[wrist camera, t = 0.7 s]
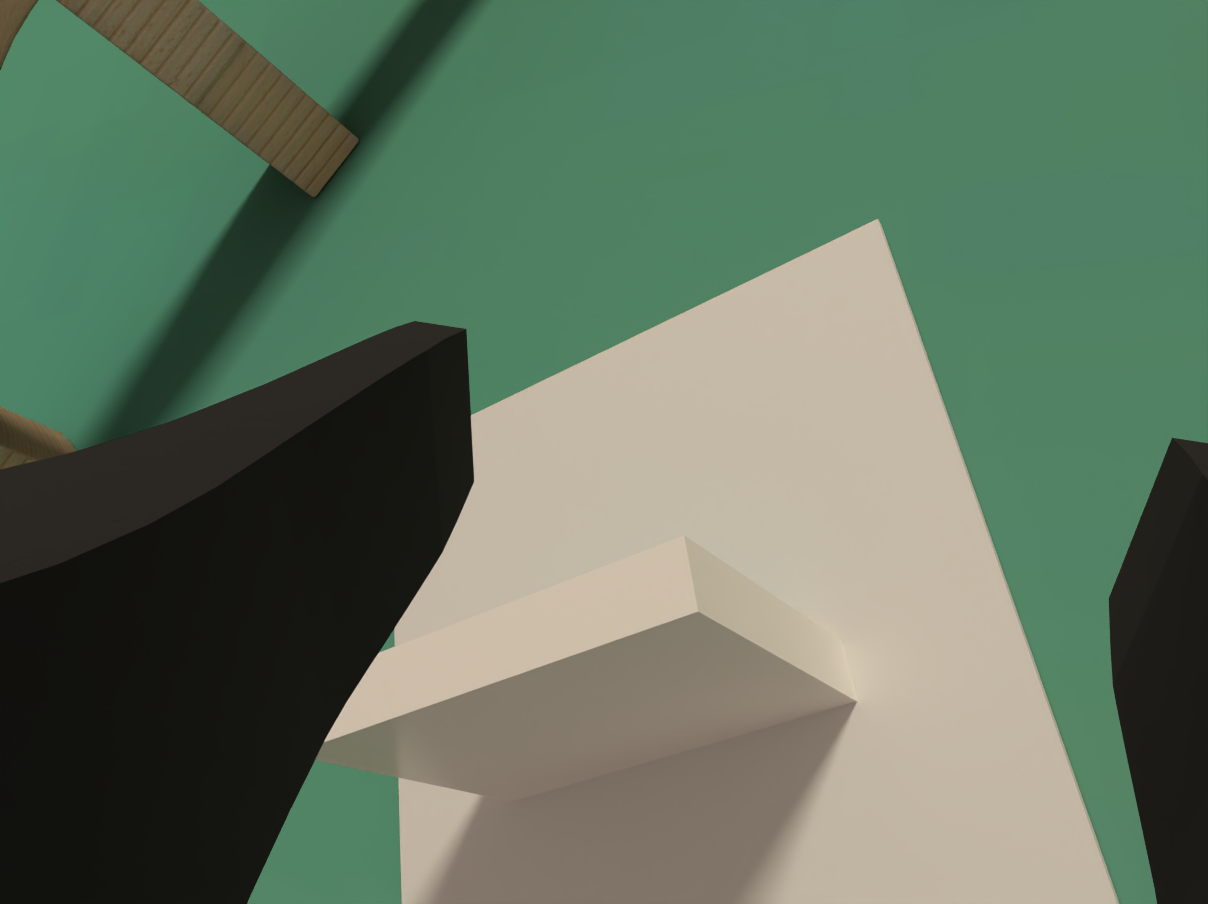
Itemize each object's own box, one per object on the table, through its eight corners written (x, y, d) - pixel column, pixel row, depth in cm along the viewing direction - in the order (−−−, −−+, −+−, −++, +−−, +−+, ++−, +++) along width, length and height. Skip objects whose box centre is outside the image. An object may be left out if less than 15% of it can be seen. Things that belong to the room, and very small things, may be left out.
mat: (1208, 1156, 19) (1206, 1157, 18) (419, 1227, 26) (410, 1230, 26) (881, 224, 30) (877, 219, 30) (395, 458, 37) (389, 454, 37)
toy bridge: (59, 554, 47) (-325, 428, 36) (30, 487, 51) (-327, 354, 40) (652, -221, 45) (434, -599, 34) (576, -232, 49) (358, -575, 38)
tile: (856, 701, 25) (698, 611, 19) (512, 801, 29) (288, 754, 23) (840, 632, 26) (682, 525, 19) (507, 739, 30) (290, 677, 23)
